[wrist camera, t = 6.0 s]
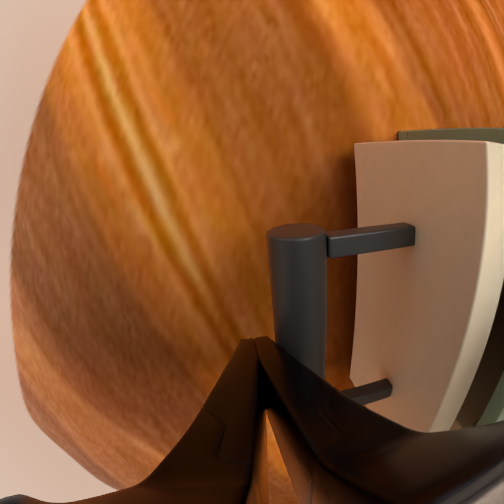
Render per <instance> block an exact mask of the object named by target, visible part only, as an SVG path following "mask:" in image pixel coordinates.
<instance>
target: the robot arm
mask: <svg viewBox="0 0 504 504" xmlns="http://www.w3.org/2000/svg"><path fill="white" fill-rule="evenodd" d="M266 412H267V415H268V418H269V421H270V424H271V427H272V429H273V432H274V435H275V438H276V441H277V444H278V446H279V449H280V452H281V455H282V458H283V460H284V463H285V466H286V469H287V471H288V474H289V477H290V479H291V482H292V485H293V487H294V490H295V493H296V495H297V498H298V500H299V503H300V504H504V420H502V421H499V422H495V423H491V424H486V425H481V426H475V427H469V428H463V429H456V430H449V431H440V432H429V433H428V432H419V431H415V430H412V429H409V428H407V427H404V426H402V425H400V424H398V423H396V422H394V421H392V420H390V419H388V418H386V417H384V416H382V415H380V414H378V413H376V412H374V411H372V410H370V409H368V408H366V407H364V406H363V405H361V404H359V403H357V402H356V401H354V400H352V399H351V398H349V397H348V396H346V395H345V394H343V393H342V392H340V391H339V390H338V389H336V388H335V387H332V385H331V384H329V383H328V382H327V381H325V380H324V379H322V378H321V377H320V376H318V375H317V374H316V373H314V372H313V371H312V370H310V369H309V368H308V367H306V366H305V365H304V364H302V363H301V362H300V361H298V360H297V359H296V358H295V357H293V356H292V355H291V354H289V353H288V352H287V351H285V350H284V349H283V348H282V347H280V346H279V345H278V344H276V343H275V342H274V341H273V340H271V339H270V338H269V337H267V336H263V337H257V338H254V339H253V338H250V339H243V340H241V341H240V343H239V344H238V346H237V348H236V350H235V351H234V353H233V355H232V357H231V359H230V360H229V362H228V364H227V366H226V367H225V369H224V371H223V373H222V374H221V376H220V378H219V380H218V381H217V383H216V385H215V386H214V388H213V390H212V392H211V393H210V395H209V397H208V398H207V400H206V402H205V404H204V405H203V408H201V410H200V412H199V414H198V415H197V417H196V418H195V420H194V422H193V423H192V425H191V426H190V428H189V429H188V430H187V432H186V433H185V434H184V436H183V437H182V438H181V439H180V441H179V442H178V443H177V444H176V446H175V447H174V448H173V449H172V450H171V451H170V453H169V454H168V455H167V456H166V457H165V458H164V460H163V461H162V462H161V463H160V464H159V465H158V467H157V468H156V469H155V470H154V471H153V472H152V473H151V474H150V475H149V476H148V477H147V478H146V479H145V480H143V481H142V482H140V483H139V484H137V485H135V486H132V487H129V488H126V489H123V490H119V491H116V492H112V493H108V494H105V495H101V496H97V497H93V498H88V499H84V500H79V501H75V502H68V503H50V502H44V501H40V500H38V499H35V498H32V497H29V496H25V495H20V494H18V495H13V496H9V497H5V498H2V499H0V504H269V501H268V466H267V434H266Z"/></svg>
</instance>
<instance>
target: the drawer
mask: <svg viewBox="0 0 504 504" xmlns="http://www.w3.org/2000/svg"><path fill="white" fill-rule="evenodd" d="M354 152H355V167H356V185H357V213H358V228H351V229H342V230H334V231H325V229H324V228H323V227H321V226H318V225H314V224H288V225H282V226H278V227H275V228H273V229H270V230H269V231H268V232H267V235H266V238H267V249H268V260H269V271H270V283H271V294H272V306H273V318H274V330H275V343H276V344H278V345H279V346H280V347H282V348H283V349H284V350H285V351H287V352H288V353H289V354H291V355H292V356H293V357H295V358H296V359H297V360H298V361H300V362H301V363H302V364H304V365H305V366H306V367H308V368H309V369H310V370H312V371H313V372H314V373H316V374H317V375H318V376H320V377H321V378H322V379H324V380H325V364H326V337H327V257H328V258H338V257H344V256H351V255H358V266H357V295H356V313H355V328H354V340H353V351H352V361H351V370H350V379H351V380H352V382H353V384H354V386H355V387H354V388H350V389H347V390H343V391H340V392H342V393H343V394H345V395H346V396H348V397H349V398H351V399H352V400H354V401H356V402H357V403H359V404H361V405H366V407H367V408H368V409H370V410H372V411H374V412H376V413H378V414H380V415H382V416H384V417H386V418H388V419H390V420H392V421H394V422H396V423H398V424H400V425H402V426H404V427H407V428H409V429H412V430H415V431H419V432H428V433H429V432H440V431H449V430H456V429H463V428H469V427H475V426H476V425H477V423H478V421H479V419H480V418H481V416H482V414H483V412H484V410H485V408H486V406H487V405H488V403H489V401H490V399H491V397H492V395H493V393H494V391H495V389H496V386H497V384H498V382H499V380H500V378H501V375H502V373H503V371H504V144H500V143H495V142H489V141H474V140H403V141H381V142H364V143H355V144H354Z"/></svg>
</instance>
